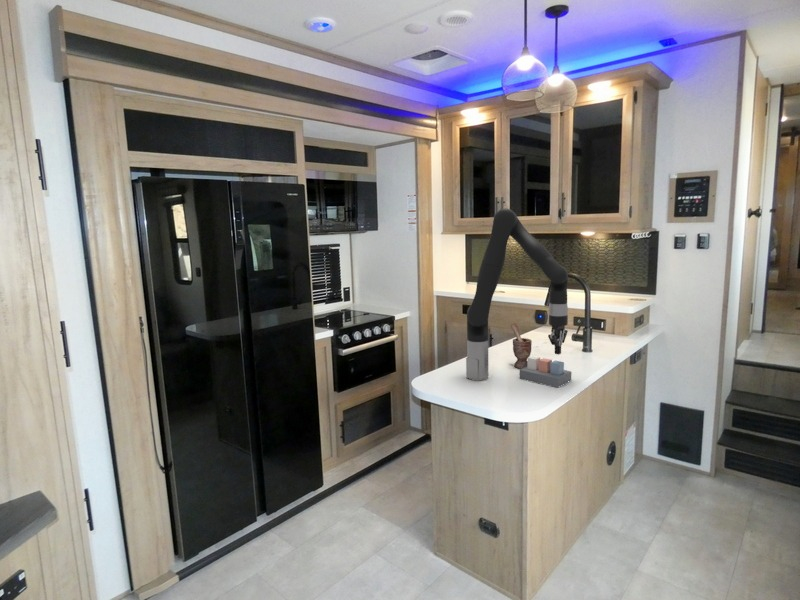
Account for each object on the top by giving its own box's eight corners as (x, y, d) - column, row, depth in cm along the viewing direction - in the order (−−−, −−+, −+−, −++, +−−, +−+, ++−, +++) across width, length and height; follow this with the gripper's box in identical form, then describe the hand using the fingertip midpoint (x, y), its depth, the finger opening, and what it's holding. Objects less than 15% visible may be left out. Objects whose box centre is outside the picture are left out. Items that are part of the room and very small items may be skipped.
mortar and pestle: (503, 365, 229) (503, 325, 226) (513, 361, 235) (514, 322, 232) (524, 370, 221) (525, 328, 218) (534, 366, 227) (535, 325, 223)
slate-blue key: (559, 375, 200) (559, 364, 199) (550, 373, 203) (550, 362, 202) (563, 373, 203) (564, 362, 202) (555, 371, 206) (555, 360, 205)
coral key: (547, 373, 204) (547, 361, 203) (538, 371, 207) (538, 360, 206) (551, 370, 207) (552, 359, 206) (543, 369, 210) (543, 358, 209)
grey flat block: (557, 387, 197) (557, 378, 196) (519, 378, 210) (519, 369, 209) (571, 380, 205) (571, 371, 205) (533, 372, 218) (533, 363, 217)
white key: (535, 370, 208) (535, 359, 207) (527, 368, 211) (527, 357, 210) (540, 368, 211) (540, 357, 210) (532, 366, 214) (532, 355, 213)
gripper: (559, 317, 192) (558, 359, 195) (574, 312, 201) (573, 351, 204) (542, 315, 197) (541, 356, 200) (557, 310, 206) (557, 349, 209)
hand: (557, 353), depth 202 cm, fingers closed
